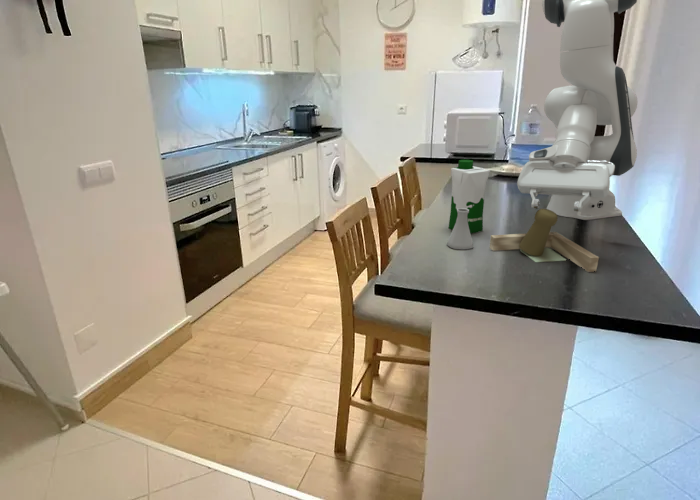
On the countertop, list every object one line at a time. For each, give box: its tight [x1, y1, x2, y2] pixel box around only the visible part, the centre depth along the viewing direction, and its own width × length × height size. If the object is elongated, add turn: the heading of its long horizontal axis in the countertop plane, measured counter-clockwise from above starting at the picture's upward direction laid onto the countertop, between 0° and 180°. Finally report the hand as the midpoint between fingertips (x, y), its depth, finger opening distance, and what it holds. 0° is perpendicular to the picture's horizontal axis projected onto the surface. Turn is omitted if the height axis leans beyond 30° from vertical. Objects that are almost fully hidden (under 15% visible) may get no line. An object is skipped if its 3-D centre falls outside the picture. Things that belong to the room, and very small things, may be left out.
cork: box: [519, 208, 559, 256], centre depth 111 cm, size 6×6×11 cm
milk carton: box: [447, 159, 491, 235], centre depth 128 cm, size 9×9×20 cm
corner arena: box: [489, 231, 600, 273], centre depth 110 cm, size 18×18×4 cm
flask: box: [446, 208, 474, 250], centre depth 118 cm, size 7×7×10 cm
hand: (555, 208), depth 106 cm, fingers open, 8 cm apart
